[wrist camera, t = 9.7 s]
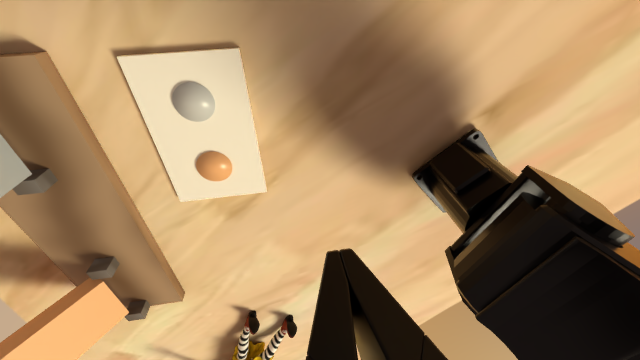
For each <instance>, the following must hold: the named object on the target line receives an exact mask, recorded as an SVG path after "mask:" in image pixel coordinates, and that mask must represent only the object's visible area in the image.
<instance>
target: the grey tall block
mask: <svg viewBox="0 0 640 360" xmlns="http://www.w3.org/2000/svg"><path fill="white" fill-rule="evenodd" d="M31 174H32V173H31V172H30V171H29V169H28V168H27V167H26V166H25V164H24V163H23V162H22V161H21V159H20V158H19V157H18V156H17V154H16V153H15V152H14V151H13V149H12V148H11V147H10V146H9V144H8V143H7V142H6V140H5V139H4V138H3V137H2V135H1V134H0V198H1V197H2V196H4V195H5V194H6V193H8V192H9V191H10V190H12V189H13V188H14V187H16V186H17V185H18V184H19V183H21V182H22V181H23V180H25V179H26V178H27V177H29V176H30V175H31Z"/></svg>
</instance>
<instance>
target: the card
mask: <svg viewBox="0 0 640 360" xmlns="http://www.w3.org/2000/svg"><path fill="white" fill-rule="evenodd" d="M117 59H118V61H119V64H120V66H121V68H122V70H123V73H124V75H125V77H126V79H127V82H128V84H129V86H130V89H131V91H132V93H133V95H134V98H135V100H136V102H137V104H138V107H139V109H140V111H141V113H142V116H143V118H144V120H145V123H146V125H147V127H148V129H149V132H150V134H151V136H152V138H153V141H154V143H155V145H156V147H157V150H158V152H159V154H160V156H161V159H162V161H163V163H164V166H165V168H166V170H167V172H168V175H169V177H170V179H171V181H172V184H173V186H174V188H175V190H176V193H177V195H178V197H179V200H180V202H185V201H193V200H202V199H211V198H219V197H228V196H236V195H245V194H254V193H262V192H267V187H266V182H265V176H264V171H263V166H262V161H261V156H260V151H259V145H258V140H257V135H256V130H255V125H254V120H253V114H252V109H251V104H250V99H249V94H248V89H247V83H246V78H245V73H244V68H243V63H242V58H241V52H240V47H238V48H224V49H209V50H194V51H179V52H164V53H150V54H135V55H120V56H117Z"/></svg>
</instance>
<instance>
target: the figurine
mask: <svg viewBox="0 0 640 360" xmlns="http://www.w3.org/2000/svg"><path fill="white" fill-rule="evenodd" d="M259 326H260V324H259V321H258V320H257V318H256V311H251V312H250V313H249V315H248V317H247V320H246V323H245V327H244V329H243V332H242V334H241V336H240V339H239V342H238V345H237V346H236V347H235V350H234V355H233V358H232V360H272V358H273V357H274V356H273V355H274V353H275V352H276V350H277V348H278V346H279V344H280V342H281V340H282V338H283V337H284V335H285V334H286V333H288V335H289V337H290V338H293V337H294V336H295V334H296V332H297V326H296V324H295V323H294V322H293V316H292V315H289V316H287V317H286V318H285V320H284V322H283V325H282V327H281V329H280V330H279V331H278V332H277V333H276V334H275V335H274V337H273V338H272V340H271V341H270V343H269V344H268V346H267V348H266V350H265V351H264V346H265V343H264V342H261V343H257V344H256V345H253V344H252V341H249V333H250V332H251V334H253V335H254V334H255V333H256V332H257V331H258V329H259Z"/></svg>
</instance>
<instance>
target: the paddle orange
mask: <svg viewBox="0 0 640 360" xmlns="http://www.w3.org/2000/svg"><path fill="white" fill-rule="evenodd" d="M128 313H129V311H128V310H127V309H126V308H125V307H124V305H123V304H122V303H121V302H120V301H119V299H118V298H117V297H116V296H115V295H114V294H113V292H112V291H111V290H110V289H109V288H108V286H107V285H106V284H105V283H104V282H103V281H102V280H101V279H96V280H92V279H91V278H88V279H87V280H86V281H84V282H83V283H82V284H80V285H79V286H77V287H76V288H75V289H73V290H72V291H71V292H69V293H68V294H67V295H65V296H64V297H62V298H61V299H60V300H58V301H57V302H56V303H54V304H53V305H51V306H50V307H49V308H47V309H46V310H45V311H43V312H42V313H40V314H39V315H38V316H36V317H35V318H34V319H32V320H31V321H29V322H28V323H27V324H25V325H24V326H23V327H21V328H20V329H19V330H17V331H16V332H14V333H13V334H12V335H10V336H9V337H8V338H6V339H5V340H3V341H2V342H1V343H0V360H77V359H78V358H79V357H80V356H81V355H82V354H84V353H85V352H86V351H87V350H88V349H89V348H90V347H91V346H92V345H94V344H95V343H96V342H97V341H98V340H99V339H100V338H101V337H102V336H104V335H105V334H106V333H107V332H108V331H109V330H110V329H111V328H112V327H114V326H115V325H116V324H117V323H118V322H119V321H120V320H121V319H122V318H124V317H125V316H126V315H127V314H128Z"/></svg>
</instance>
